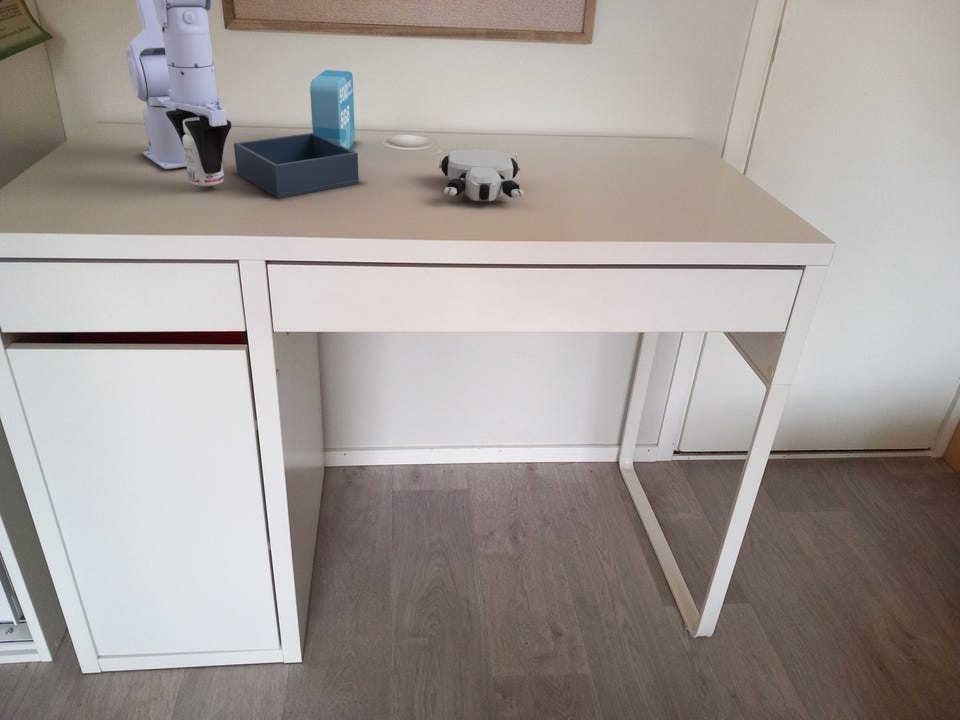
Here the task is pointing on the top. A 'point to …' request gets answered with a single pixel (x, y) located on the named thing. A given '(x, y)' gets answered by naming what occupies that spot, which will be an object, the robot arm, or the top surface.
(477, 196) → the robot toy
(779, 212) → the top surface
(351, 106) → the blue carton
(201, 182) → the pill bottle
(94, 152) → the top surface
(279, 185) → the tote
